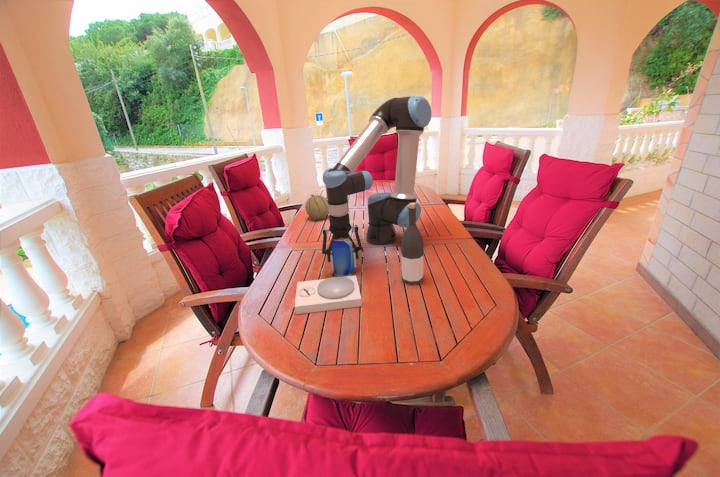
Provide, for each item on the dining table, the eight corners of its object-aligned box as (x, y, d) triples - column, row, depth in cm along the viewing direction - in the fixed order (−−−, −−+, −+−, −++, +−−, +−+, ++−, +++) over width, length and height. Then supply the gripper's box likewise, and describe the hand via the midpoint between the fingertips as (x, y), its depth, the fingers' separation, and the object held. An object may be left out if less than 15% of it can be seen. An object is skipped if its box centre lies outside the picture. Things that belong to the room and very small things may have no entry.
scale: (356, 282, 121) (355, 272, 119) (361, 306, 106) (361, 295, 104) (298, 289, 119) (296, 279, 117) (295, 314, 104) (293, 303, 102)
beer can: (357, 269, 130) (355, 233, 124) (350, 279, 123) (347, 242, 116) (338, 267, 133) (335, 232, 126) (330, 277, 125) (326, 240, 119)
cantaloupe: (329, 222, 187) (327, 197, 181) (305, 223, 187) (301, 198, 181) (332, 214, 200) (329, 191, 195) (309, 215, 201) (306, 192, 195)
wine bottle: (409, 287, 115) (409, 208, 103) (397, 278, 121) (395, 203, 110) (427, 281, 118) (429, 204, 106) (414, 272, 125) (414, 198, 113)
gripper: (365, 207, 122) (368, 260, 131) (310, 213, 120) (317, 265, 129) (368, 213, 115) (371, 268, 124) (310, 219, 113) (317, 274, 122)
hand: (343, 267), depth 127 cm, fingers closed on beer can, 8 cm apart
